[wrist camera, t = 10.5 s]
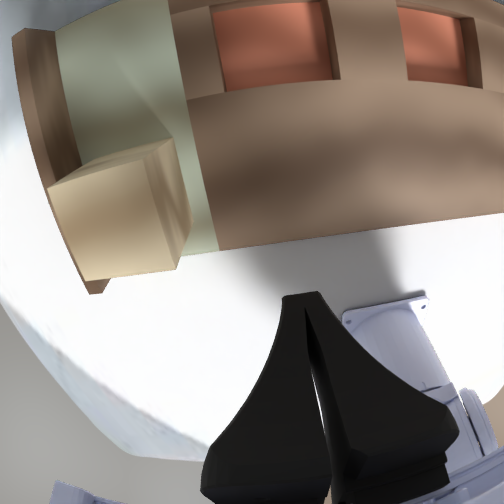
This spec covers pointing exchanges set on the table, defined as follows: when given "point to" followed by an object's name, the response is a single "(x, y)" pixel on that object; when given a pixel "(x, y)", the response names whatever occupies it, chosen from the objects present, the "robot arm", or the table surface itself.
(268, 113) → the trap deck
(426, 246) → the table surface
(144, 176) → the pine block
